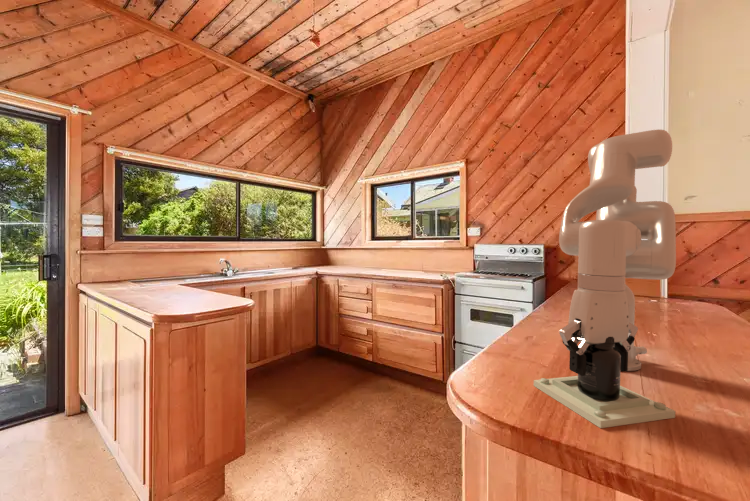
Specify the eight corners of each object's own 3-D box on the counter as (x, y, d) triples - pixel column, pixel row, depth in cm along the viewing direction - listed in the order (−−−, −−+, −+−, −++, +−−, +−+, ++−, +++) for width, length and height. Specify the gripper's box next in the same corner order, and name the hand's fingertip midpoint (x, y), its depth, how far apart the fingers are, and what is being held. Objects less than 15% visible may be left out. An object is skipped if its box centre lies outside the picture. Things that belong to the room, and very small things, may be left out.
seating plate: (595, 379, 72) (595, 369, 72) (675, 417, 56) (675, 405, 56) (533, 385, 69) (533, 375, 69) (600, 428, 53) (600, 415, 53)
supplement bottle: (627, 404, 59) (629, 339, 58) (586, 400, 60) (588, 337, 60) (608, 387, 65) (610, 329, 65) (571, 384, 67) (573, 327, 66)
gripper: (618, 280, 67) (616, 360, 68) (547, 282, 64) (546, 366, 64) (656, 285, 60) (653, 375, 61) (579, 287, 56) (576, 383, 57)
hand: (598, 370), depth 62 cm, fingers open, 9 cm apart
